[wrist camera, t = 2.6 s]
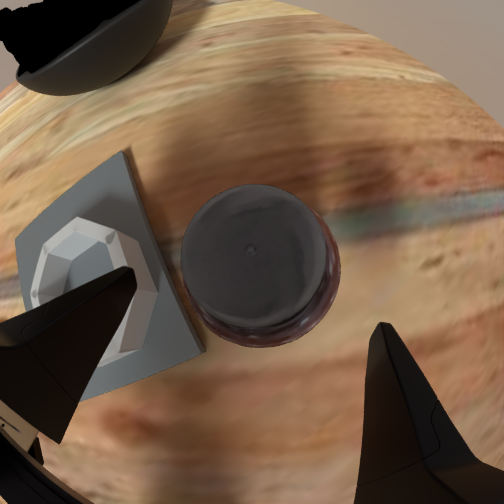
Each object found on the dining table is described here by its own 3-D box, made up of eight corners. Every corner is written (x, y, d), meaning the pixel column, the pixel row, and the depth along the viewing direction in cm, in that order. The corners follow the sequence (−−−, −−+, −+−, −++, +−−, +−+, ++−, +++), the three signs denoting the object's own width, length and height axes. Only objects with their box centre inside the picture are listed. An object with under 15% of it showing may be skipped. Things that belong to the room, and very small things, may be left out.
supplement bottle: (211, 270, 19) (119, 218, 8) (285, 225, 19) (282, 119, 8) (255, 347, 17) (210, 400, 6) (333, 300, 17) (402, 282, 6)
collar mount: (205, 351, 18) (185, 361, 14) (65, 406, 18) (37, 414, 14) (126, 155, 22) (104, 132, 18) (21, 241, 22) (-5, 232, 18)
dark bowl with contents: (182, 11, 28) (146, -80, 9) (208, 76, 23) (148, -83, 5) (69, 68, 29) (12, -1, 10) (50, 157, 24) (-55, 73, 6)
